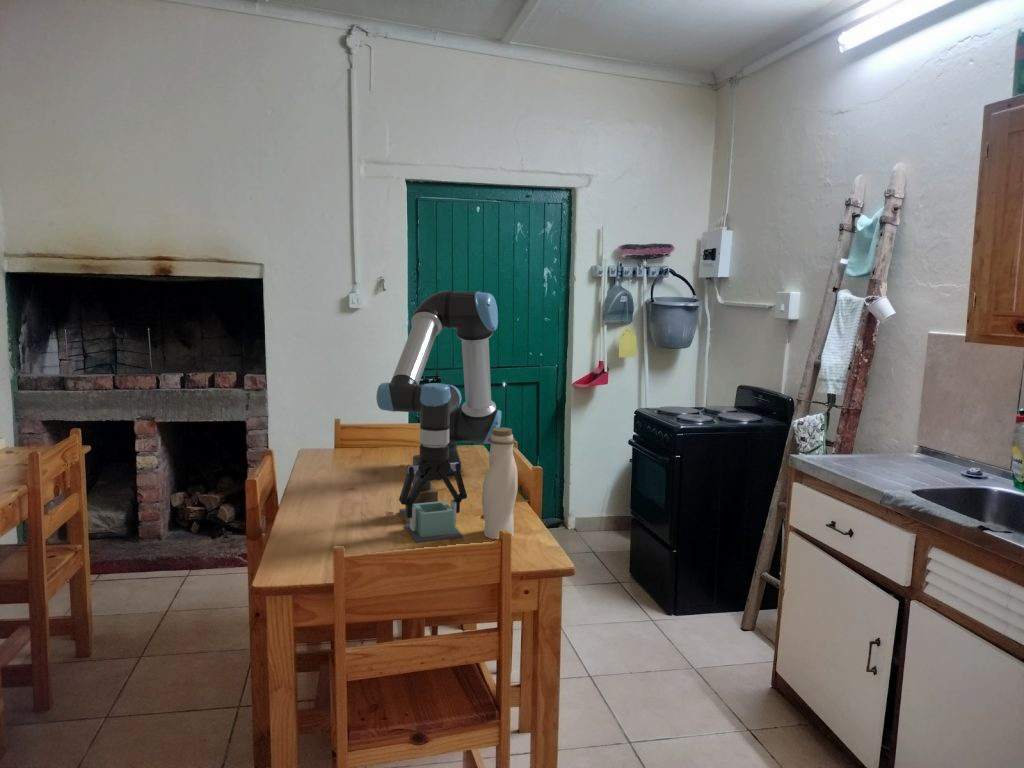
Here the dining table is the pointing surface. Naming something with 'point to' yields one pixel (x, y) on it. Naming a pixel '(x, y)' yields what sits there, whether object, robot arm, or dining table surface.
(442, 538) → the mat
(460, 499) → the robot arm
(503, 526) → the water bottle
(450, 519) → the teal square planter
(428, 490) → the stand
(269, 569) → the dining table surface
